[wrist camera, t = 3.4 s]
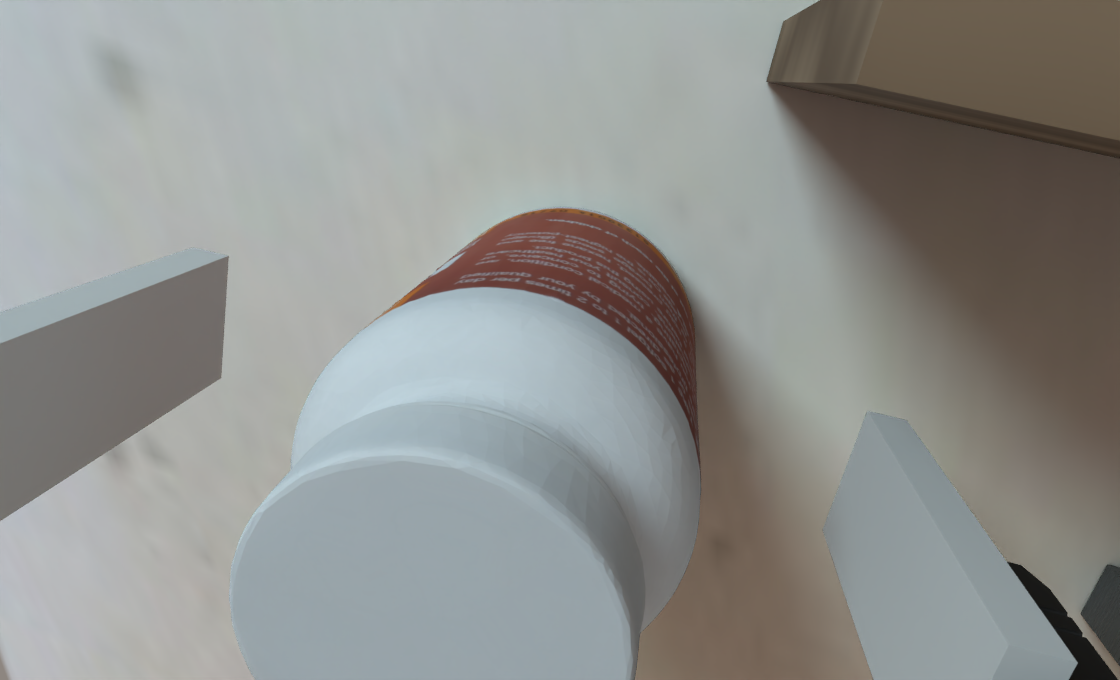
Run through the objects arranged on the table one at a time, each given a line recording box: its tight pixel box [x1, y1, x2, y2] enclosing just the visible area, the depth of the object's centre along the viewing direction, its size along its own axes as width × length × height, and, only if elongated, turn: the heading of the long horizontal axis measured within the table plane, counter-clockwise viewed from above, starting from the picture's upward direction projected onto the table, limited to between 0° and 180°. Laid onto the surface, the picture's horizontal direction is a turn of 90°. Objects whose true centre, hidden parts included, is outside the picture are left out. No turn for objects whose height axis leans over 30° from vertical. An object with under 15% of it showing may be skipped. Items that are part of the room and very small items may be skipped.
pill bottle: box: [229, 207, 701, 680], centre depth 14 cm, size 6×6×11 cm
